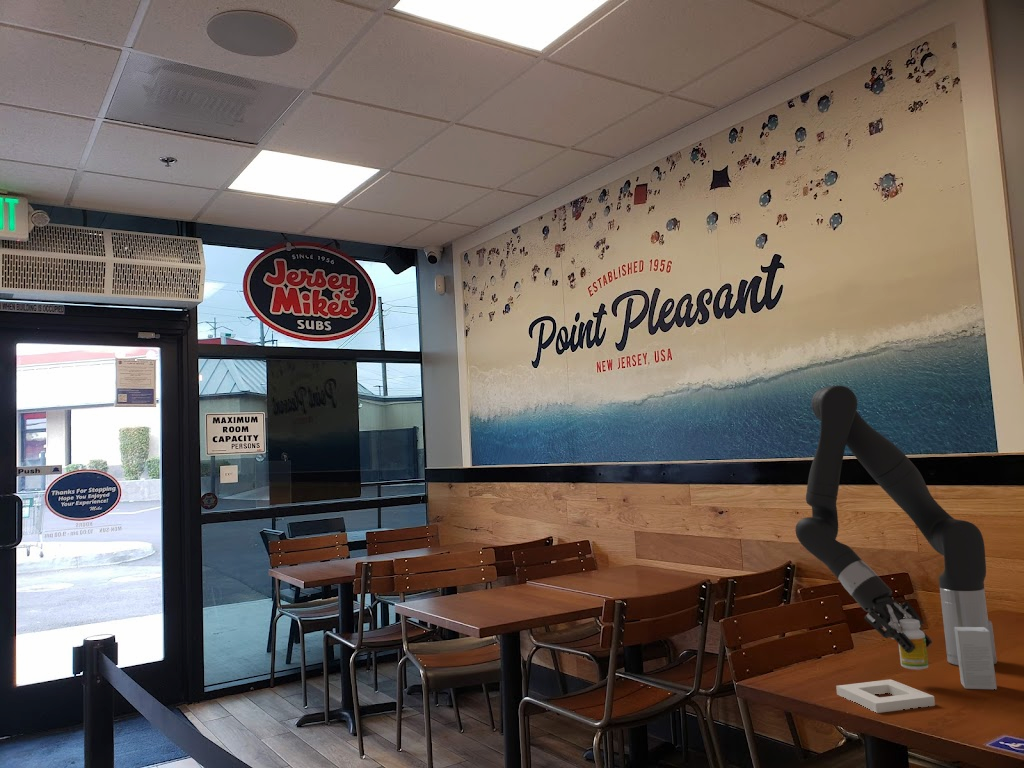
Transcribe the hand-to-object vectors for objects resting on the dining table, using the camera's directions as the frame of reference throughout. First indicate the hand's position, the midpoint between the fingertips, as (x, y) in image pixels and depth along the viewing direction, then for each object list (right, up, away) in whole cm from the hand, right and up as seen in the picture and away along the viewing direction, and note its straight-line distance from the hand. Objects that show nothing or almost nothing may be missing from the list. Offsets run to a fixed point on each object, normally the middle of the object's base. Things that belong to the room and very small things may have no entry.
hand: (920, 647), depth 167 cm
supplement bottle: (-1, -5, +1) cm, 5 cm away
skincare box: (+11, -8, -2) cm, 14 cm away
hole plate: (-11, -8, -8) cm, 16 cm away
